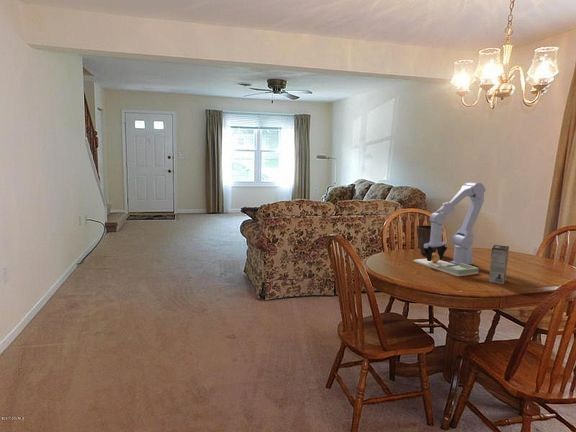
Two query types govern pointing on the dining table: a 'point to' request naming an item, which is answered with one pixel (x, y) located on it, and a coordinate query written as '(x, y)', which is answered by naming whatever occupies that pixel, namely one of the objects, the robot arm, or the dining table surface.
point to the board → (449, 267)
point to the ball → (435, 257)
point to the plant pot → (424, 237)
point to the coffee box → (498, 264)
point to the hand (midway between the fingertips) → (434, 260)
